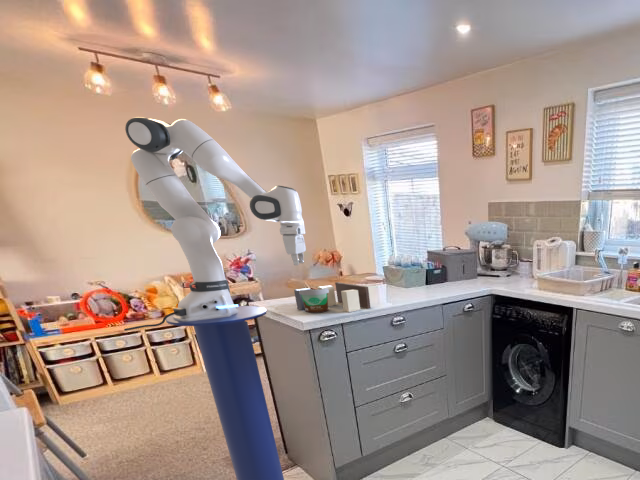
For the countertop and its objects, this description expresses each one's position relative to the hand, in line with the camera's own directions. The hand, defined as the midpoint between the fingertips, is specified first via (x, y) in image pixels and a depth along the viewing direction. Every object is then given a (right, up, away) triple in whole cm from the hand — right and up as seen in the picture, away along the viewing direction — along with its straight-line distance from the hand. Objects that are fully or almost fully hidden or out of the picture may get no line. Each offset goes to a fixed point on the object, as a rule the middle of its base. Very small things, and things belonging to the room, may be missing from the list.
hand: (299, 264), depth 175 cm
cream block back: (+2, -13, +25) cm, 28 cm away
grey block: (-5, -16, +16) cm, 24 cm away
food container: (+3, -18, +11) cm, 22 cm away
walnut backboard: (+14, -13, +25) cm, 31 cm away
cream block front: (+17, -17, +14) cm, 28 cm away
